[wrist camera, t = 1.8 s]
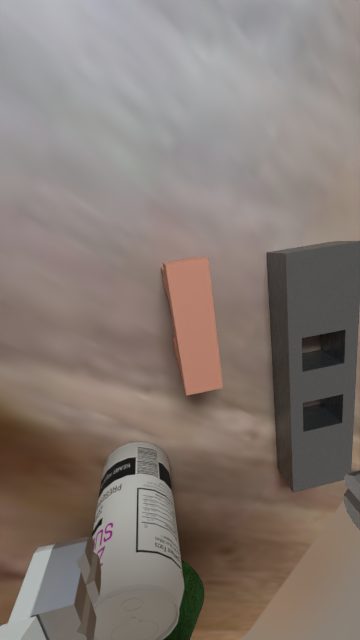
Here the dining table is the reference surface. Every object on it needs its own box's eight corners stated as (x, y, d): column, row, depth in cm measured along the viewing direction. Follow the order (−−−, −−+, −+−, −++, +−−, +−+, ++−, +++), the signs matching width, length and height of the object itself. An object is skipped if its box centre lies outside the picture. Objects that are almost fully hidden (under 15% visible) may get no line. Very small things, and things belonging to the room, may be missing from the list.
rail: (266, 252, 29) (285, 253, 25) (334, 241, 30) (362, 240, 26) (277, 467, 38) (293, 492, 34) (329, 454, 38) (350, 477, 34)
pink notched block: (159, 260, 28) (165, 264, 21) (192, 255, 28) (208, 257, 21) (176, 363, 31) (186, 395, 24) (205, 357, 31) (222, 387, 25)
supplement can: (169, 485, 36) (187, 645, 21) (106, 493, 35) (82, 667, 20) (168, 434, 34) (187, 575, 19) (101, 441, 32) (69, 596, 18)
